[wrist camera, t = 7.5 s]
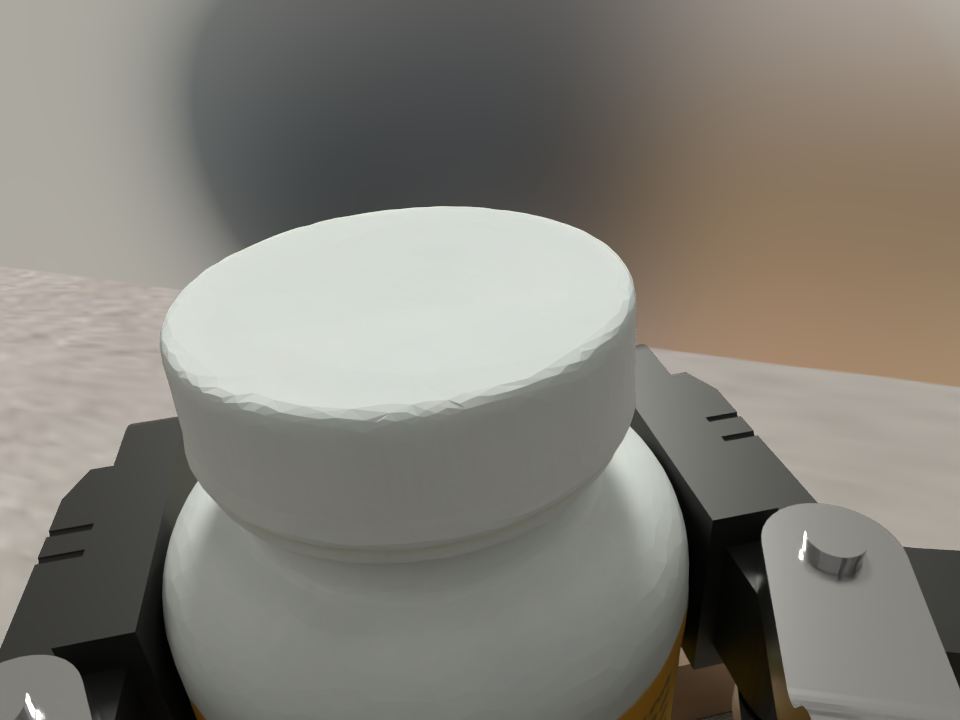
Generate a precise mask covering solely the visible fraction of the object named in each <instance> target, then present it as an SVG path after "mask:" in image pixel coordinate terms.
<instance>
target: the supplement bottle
mask: <svg viewBox="0 0 960 720" xmlns="http://www.w3.org/2000/svg"><path fill="white" fill-rule="evenodd" d="M160 350H161V356H162V362H163V366H164V369H165V373H166V376H167V379H168V382H169V386H170V389H171V393H172V397H173V400H174V404H175V408H176V411H177V415H178V418H179V422H180V426H181V429H182V433H183V441H184V449H185V455H186V458H187V461H188V464H189V467H190V469H191V471H192V472H193V474H194V475H195V477H196V479H197V480H198V481H197V483H196V484H195V486H194V488H193V489H192V491H191V493H190V494H189V496H188V498H187V500H186V502H185V504H184V506H183V508H182V510H181V512H180V514H179V516H178V518H177V521H176V524H175V526H174V529H173V532H172V535H171V537H170V541H169V546H168V550H167V554H166V559H165V564H164V571H163V587H162V603H163V616H164V624H165V630H166V636H167V639H168V643H169V646H170V649H171V652H172V656H173V659H174V662H175V665H176V668H177V670H178V673H179V675H180V678H181V680H182V682H183V685H184V687H185V690H186V692H187V695H188V697H189V700H190V702H191V705H192V707H193V710H194V713H195V716H196V718H197V720H671V712H672V703H673V697H674V689H675V681H676V674H677V669H678V665H679V656H680V650H681V645H682V640H683V635H684V630H685V623H686V617H687V610H688V601H689V553H688V541H687V534H686V528H685V523H684V519H683V515H682V512H681V509H680V506H679V503H678V500H677V497H676V494H675V492H674V489H673V487H672V484H671V483H670V481H669V479H668V477H667V475H666V473H665V471H664V469H663V467H662V466H661V464H660V463H659V461H658V460H657V458H656V457H655V456H654V454H653V453H652V451H651V450H650V449H649V447H648V446H647V445H646V443H645V442H644V441H643V440H642V438H641V437H640V436H639V435H638V434H637V433H636V432H635V431H634V430H633V429H632V428H631V427H630V424H631V421H632V418H633V415H634V411H635V407H636V392H637V389H636V378H635V360H636V295H635V290H634V285H633V279H632V277H631V275H630V273H629V271H628V269H627V267H626V265H625V264H624V263H623V262H622V260H621V259H620V258H619V256H618V255H617V254H616V253H615V252H614V251H613V250H612V249H610V247H609V246H607V245H606V244H605V243H603V242H602V241H600V240H598V239H596V238H594V237H593V236H591V235H589V234H587V233H586V232H584V231H582V230H580V229H577V228H575V227H572V226H570V225H567V224H563V223H561V222H557V221H554V220H551V219H547V218H544V217H539V216H534V215H530V214H526V213H519V212H512V211H507V210H493V209H488V208H477V207H448V206H447V207H446V206H439V207H421V208H420V207H419V208H406V209H396V210H385V211H379V212H371V213H363V214H358V215H353V216H347V217H341V218H334V219H330V220H326V221H322V222H318V223H315V224H312V225H309V226H304V227H299V228H296V229H293V230H290V231H287V232H284V233H281V234H278V235H276V236H273V237H271V238H268V239H266V240H263V241H261V242H259V243H256V244H254V245H252V246H250V247H248V248H246V249H243V250H241V251H239V252H237V253H234V254H232V255H230V256H228V257H226V258H225V259H223V260H222V261H220V262H219V263H217V264H215V265H213V266H211V267H209V268H207V269H206V270H205V271H204V272H202V273H201V274H200V275H199V276H198V277H197V278H196V279H195V280H194V281H192V282H191V283H189V284H188V285H187V286H186V287H185V288H184V289H183V290H182V292H181V293H180V294H179V295H178V297H177V298H176V301H175V302H174V303H173V304H172V305H171V306H170V308H169V310H168V312H167V315H166V317H165V320H164V322H163V325H162V328H161V332H160Z"/></svg>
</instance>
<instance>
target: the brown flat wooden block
mask: <svg viewBox="0 0 960 720" xmlns="http://www.w3.org/2000/svg"><path fill="white" fill-rule="evenodd" d="M734 686H735V682H734V680H733V678H732V676H731V675H730V673H729V671H728V669H727V668H726V666H725V664H724V663H722V664H718V665H713V666H709V667H704V668H700V669H695V670H693V668H692V667H691V665H690V663H689V661H688V659H687V657H686V655H685V653H684V651H683V649H682V647H681V650H680V656H679V665H678V669H677V674H676V681H675V689H674V697H673V703H672V712H671V720H694V719H699V718H703V717H708V716H712V715H716V714H721V713H725V712H730V711H732V697H733V692H734Z"/></svg>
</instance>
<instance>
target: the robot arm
mask: <svg viewBox="0 0 960 720" xmlns="http://www.w3.org/2000/svg"><path fill="white" fill-rule="evenodd" d="M635 378H636V389H637V392H636V407H635V411H634V415H633V418H632V421H631V424H630V427H631V428H632V429H633V430H634V431H635V432H636V433H637V434H638V435H639V436H640V437H641V438H642V440H643V441H644V442H645V443H646V445H647V446H648V447H649V449H650V450H651V451H652V453H653V454H654V456H655V457H656V458H657V460H658V461H659V463H660V464H661V466H662V467H663V469H664V471H665V473H666V475H667V477H668V479H669V481H670V483H671V484H672V487H673V489H674V492H675V494H676V497H677V500H678V503H679V506H680V509H681V512H682V515H683V519H684V523H685V528H686V534H687V541H688V553H689V601H688V610H687V617H686V623H685V630H684V635H683V640H682V645H681V647H682V649H683V651H684V653H685V655H686V657H687V659H688V661H689V663H690V665H691V667H692V668H693V670H695V669H700V668H704V667H709V666H713V665H718V664H722V663H724V664H725V666H726V668H727V669H728V671H729V673H730V675H731V676H732V678H733V680H734V682H735V686H734V692H733V697H732V714H733V720H960V551H955V550H938V549H921V548H910V547H903V546H902V545H901V544H900V542H899V541H898V540H897V539H896V538H895V537H894V536H893V535H892V534H891V533H890V532H889V531H888V530H887V529H886V528H884V527H883V526H882V525H880V524H879V523H877V522H875V521H874V520H872V519H870V518H869V517H867V516H864V515H862V514H860V513H858V512H855V511H852V510H850V509H847V508H843V507H839V506H835V505H829V504H821V503H817V502H816V501H815V499H814V498H813V497H812V496H811V495H810V494H809V493H808V492H807V490H806V489H805V488H804V487H803V486H802V485H801V484H800V483H799V481H798V480H797V479H796V478H795V477H794V476H793V475H792V473H791V472H790V471H789V470H788V469H787V468H786V467H785V466H784V464H783V463H782V462H781V461H780V460H779V459H778V458H777V457H776V455H775V454H774V453H773V452H772V451H771V450H770V449H769V448H768V446H767V445H766V444H765V443H764V442H763V441H762V440H761V439H760V437H759V436H754V432H753V430H752V428H751V427H750V426H749V425H748V424H747V423H746V422H745V420H744V419H743V418H742V417H741V416H740V417H738V416H737V411H736V410H735V409H734V408H733V407H732V406H731V405H730V404H729V402H728V401H727V400H726V399H725V398H724V397H723V396H722V395H721V393H720V392H719V391H718V390H717V389H715V388H714V387H712V386H710V385H708V384H706V383H704V382H703V381H701V380H699V379H697V378H695V377H694V376H692V375H690V374H688V373H686V372H684V373H678V374H672V375H671V374H670V373H669V372H668V371H667V370H666V368H665V367H664V366H663V365H662V363H661V362H660V361H659V360H658V359H657V357H656V356H655V355H654V354H653V352H652V351H651V350H650V349H649V348H648V347H647V346H646V345H644V344H639V345H636V360H635ZM197 481H198V480H197V479H196V477H195V475H194V474H193V472H192V471H191V469H190V467H189V464H188V461H187V458H186V455H185V449H184V441H183V433H182V429H181V426H180V422H179V418H178V417H172V418H166V419H160V420H154V421H147V422H141V423H135V424H130V425H129V426H128V427H127V429H126V431H125V434H124V437H123V440H122V443H121V446H120V449H119V452H118V455H117V458H116V461H115V463H114V466H110V467H104V468H98V469H92V470H90V471H89V472H88V473H87V474H86V475H85V476H84V477H83V478H82V479H81V480H80V481H79V482H78V483H77V484H76V485H75V486H74V488H73V489H72V490H71V491H70V492H69V493H68V494H67V495H66V496H65V497H64V498H63V499H62V501H61V503H60V506H59V508H58V510H57V513H56V515H55V518H54V520H53V523H52V525H51V527H50V530H49V533H50V537H47V538H46V539H45V542H44V544H43V547H42V549H41V552H40V554H39V556H38V560H39V564H37V565H35V566H34V568H33V571H32V573H31V576H30V578H29V581H28V583H27V585H26V588H25V590H24V593H23V595H22V598H21V600H20V602H19V605H18V607H17V610H16V612H15V614H14V617H13V619H12V622H11V624H10V627H9V629H8V631H7V634H6V636H5V639H4V641H3V643H2V646H1V648H0V720H197V718H196V716H195V713H194V710H193V707H192V705H191V702H190V700H189V697H188V695H187V692H186V690H185V687H184V685H183V682H182V680H181V678H180V675H179V673H178V670H177V668H176V665H175V662H174V659H173V656H172V652H171V649H170V646H169V643H168V639H167V636H166V630H165V624H164V616H163V603H162V587H163V571H164V564H165V559H166V554H167V550H168V546H169V541H170V537H171V535H172V532H173V529H174V526H175V524H176V521H177V518H178V516H179V514H180V512H181V510H182V508H183V506H184V504H185V502H186V500H187V498H188V496H189V494H190V493H191V491H192V489H193V488H194V486H195V484H196V483H197Z"/></svg>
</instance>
